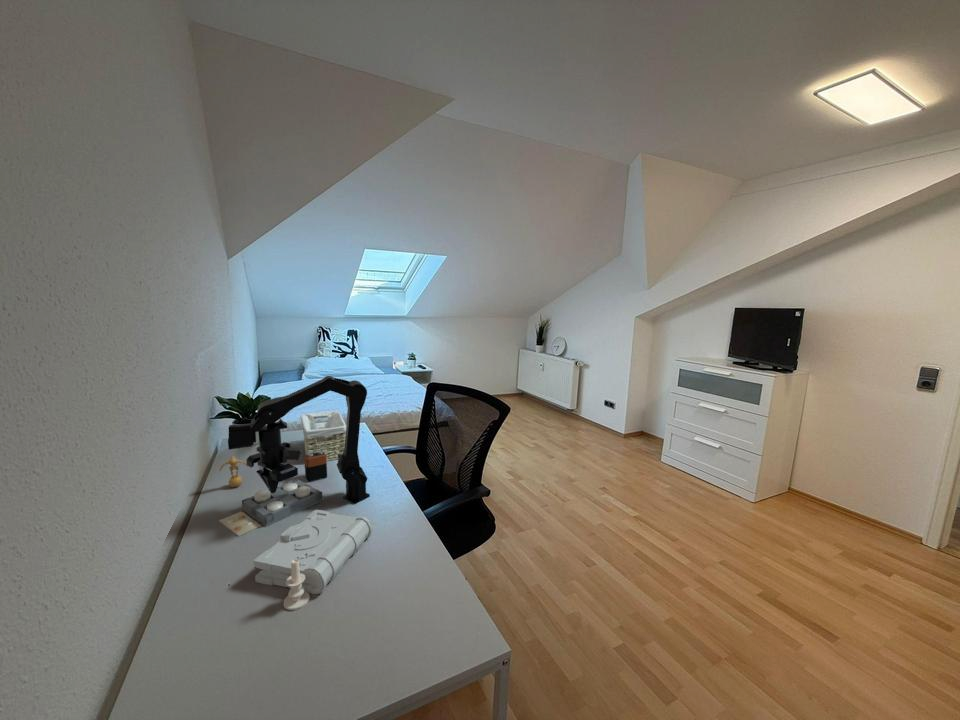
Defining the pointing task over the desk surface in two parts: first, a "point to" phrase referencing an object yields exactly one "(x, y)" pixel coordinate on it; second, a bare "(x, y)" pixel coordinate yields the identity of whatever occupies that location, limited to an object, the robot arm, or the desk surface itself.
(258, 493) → the button
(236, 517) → the pattern card
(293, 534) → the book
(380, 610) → the desk surface
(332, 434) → the storage basket
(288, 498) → the button board
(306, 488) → the button
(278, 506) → the button
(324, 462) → the battery
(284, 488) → the button
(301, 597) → the candle
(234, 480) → the figurine
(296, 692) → the desk surface
